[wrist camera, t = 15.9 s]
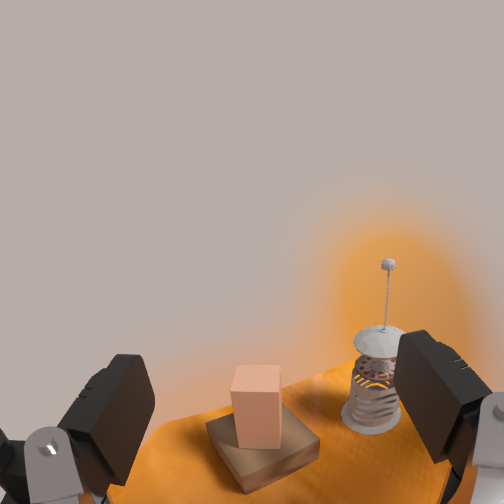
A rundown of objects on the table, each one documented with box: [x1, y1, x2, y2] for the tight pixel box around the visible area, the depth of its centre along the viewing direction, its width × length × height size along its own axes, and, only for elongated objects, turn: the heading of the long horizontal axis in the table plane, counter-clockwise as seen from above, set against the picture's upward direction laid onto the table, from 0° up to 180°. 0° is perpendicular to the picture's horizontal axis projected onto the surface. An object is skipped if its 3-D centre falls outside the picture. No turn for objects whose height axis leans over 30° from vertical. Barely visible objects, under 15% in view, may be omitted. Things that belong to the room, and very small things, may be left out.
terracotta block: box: [230, 364, 282, 449], centre depth 33 cm, size 5×5×10 cm
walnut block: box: [205, 404, 320, 495], centre depth 35 cm, size 11×11×5 cm
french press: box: [341, 258, 406, 435], centre depth 37 cm, size 10×12×25 cm
